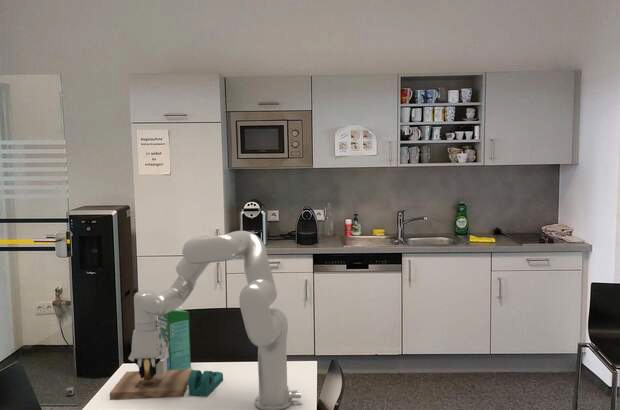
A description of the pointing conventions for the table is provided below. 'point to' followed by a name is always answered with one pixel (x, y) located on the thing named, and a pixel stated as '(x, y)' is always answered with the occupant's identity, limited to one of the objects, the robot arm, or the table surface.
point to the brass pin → (147, 368)
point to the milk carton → (176, 339)
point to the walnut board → (151, 385)
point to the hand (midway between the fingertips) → (147, 376)
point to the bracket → (203, 382)
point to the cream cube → (161, 368)
